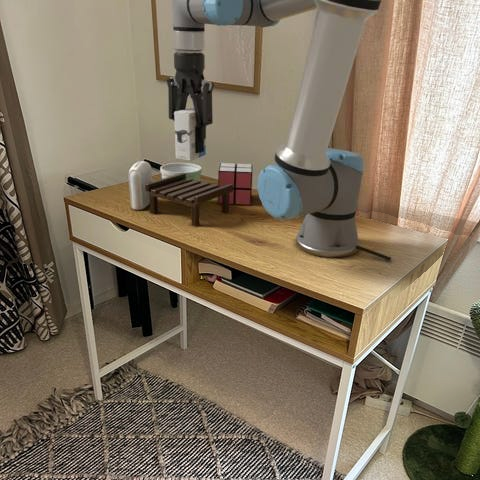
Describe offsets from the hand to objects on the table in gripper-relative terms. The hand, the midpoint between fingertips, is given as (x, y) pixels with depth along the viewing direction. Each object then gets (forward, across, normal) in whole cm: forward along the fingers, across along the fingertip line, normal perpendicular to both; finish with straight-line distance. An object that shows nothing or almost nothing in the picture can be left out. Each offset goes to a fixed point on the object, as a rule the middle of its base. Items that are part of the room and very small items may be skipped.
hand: (190, 150), depth 130 cm
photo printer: (+18, +16, +4) cm, 24 cm away
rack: (+17, 0, 0) cm, 17 cm away
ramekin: (+18, +18, -16) cm, 30 cm away
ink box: (+2, 0, 0) cm, 2 cm away
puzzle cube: (+18, -2, -18) cm, 25 cm away
